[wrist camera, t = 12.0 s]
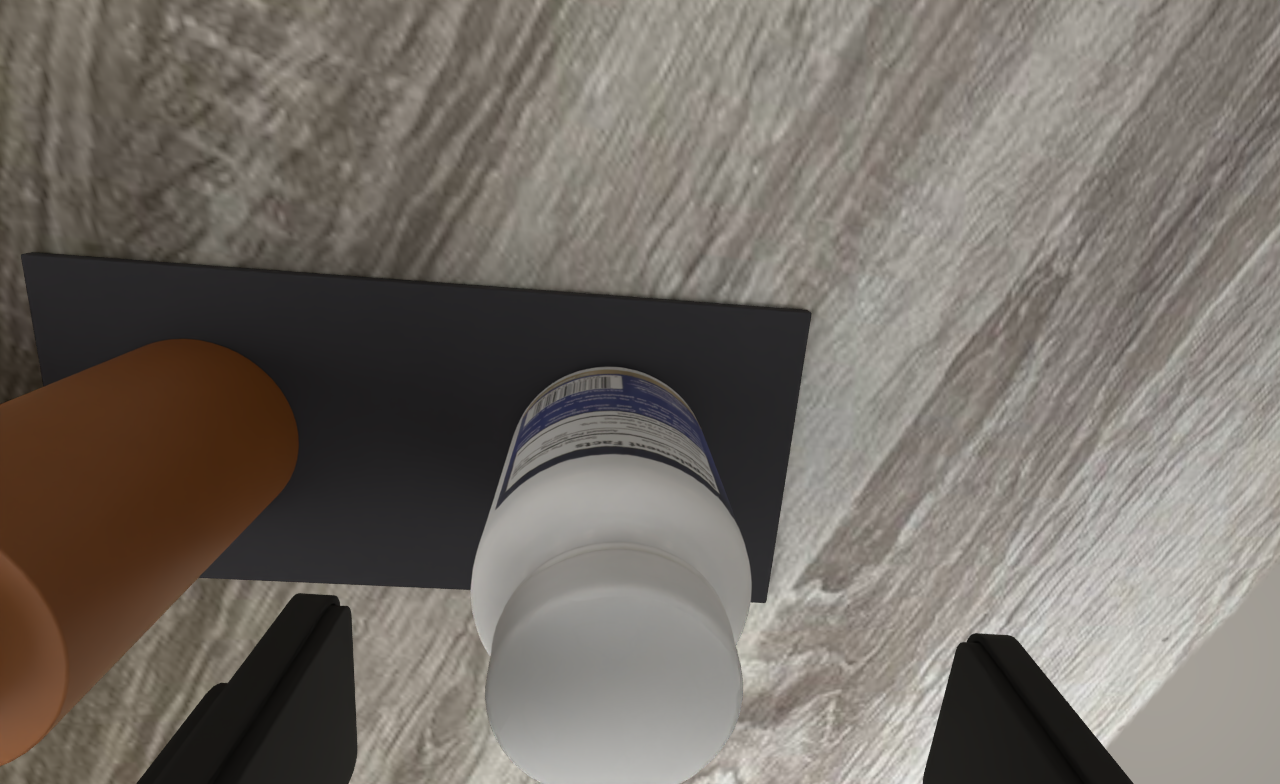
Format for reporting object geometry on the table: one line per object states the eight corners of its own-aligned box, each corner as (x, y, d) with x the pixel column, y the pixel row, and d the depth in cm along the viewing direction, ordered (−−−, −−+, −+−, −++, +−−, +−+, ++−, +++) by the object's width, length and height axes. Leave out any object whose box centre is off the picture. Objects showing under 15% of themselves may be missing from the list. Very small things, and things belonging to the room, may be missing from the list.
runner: (808, 309, 20) (812, 312, 19) (763, 596, 22) (766, 603, 22) (32, 252, 18) (19, 253, 18) (84, 565, 21) (74, 572, 21)
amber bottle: (314, 369, 19) (18, 586, 9) (282, 538, 21) (-2, 876, 11) (107, 313, 18) (-443, 485, 9) (89, 492, 20) (-398, 809, 10)
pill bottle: (659, 564, 21) (702, 874, 12) (485, 504, 21) (389, 789, 11) (736, 402, 20) (851, 615, 11) (552, 332, 19) (503, 495, 10)
